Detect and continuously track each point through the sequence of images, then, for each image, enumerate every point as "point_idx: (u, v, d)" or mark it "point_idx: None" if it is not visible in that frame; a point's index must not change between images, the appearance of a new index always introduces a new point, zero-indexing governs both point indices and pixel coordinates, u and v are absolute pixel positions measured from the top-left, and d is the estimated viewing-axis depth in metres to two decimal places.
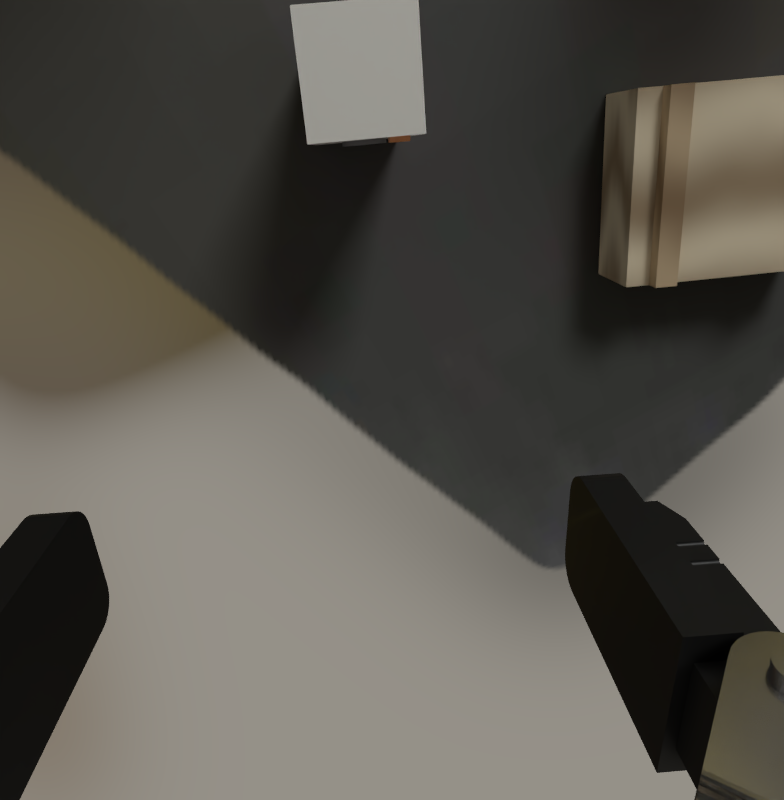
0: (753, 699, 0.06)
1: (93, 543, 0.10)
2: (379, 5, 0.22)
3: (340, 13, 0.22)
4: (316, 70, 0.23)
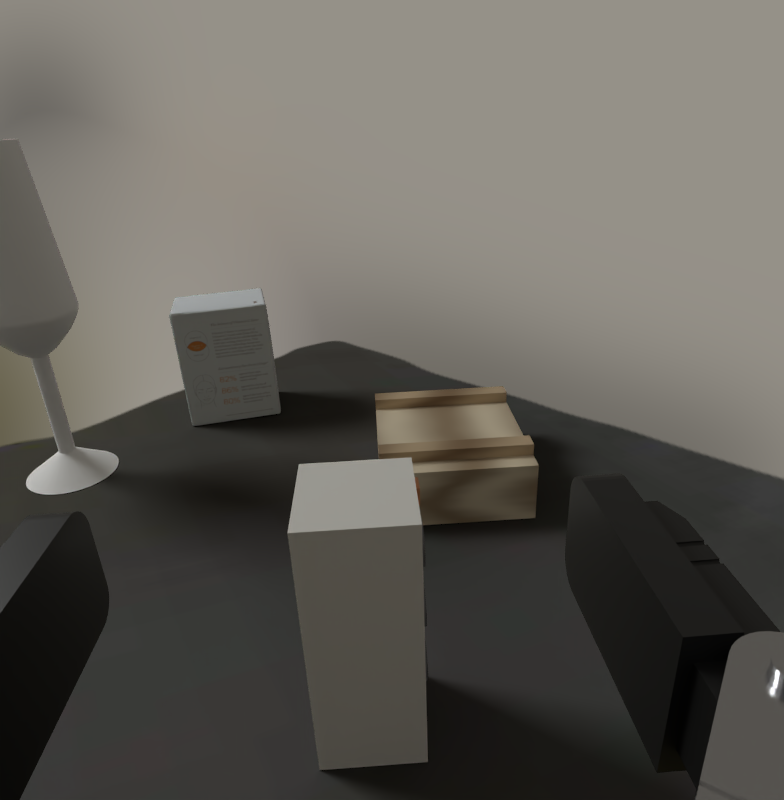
0: (753, 699, 0.06)
1: (93, 543, 0.10)
2: (301, 482, 0.24)
3: (302, 503, 0.22)
4: (349, 517, 0.21)
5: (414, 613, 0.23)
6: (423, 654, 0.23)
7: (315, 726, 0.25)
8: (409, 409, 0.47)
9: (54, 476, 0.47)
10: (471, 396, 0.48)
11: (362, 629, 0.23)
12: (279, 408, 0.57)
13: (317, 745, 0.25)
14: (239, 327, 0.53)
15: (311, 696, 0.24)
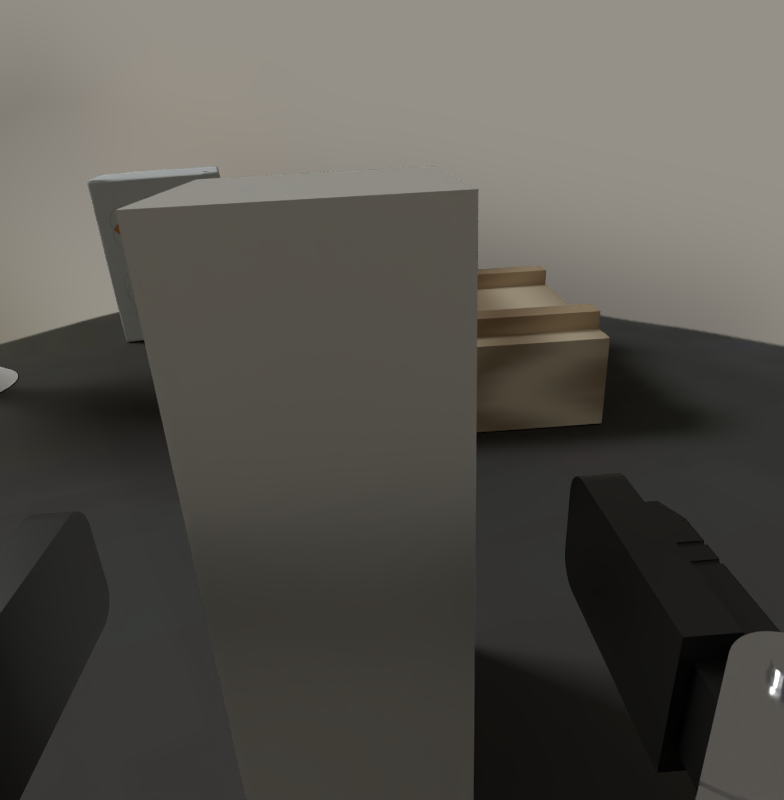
0: (753, 699, 0.06)
1: (93, 543, 0.10)
2: (192, 185, 0.11)
3: (180, 193, 0.09)
4: (288, 195, 0.08)
5: (452, 459, 0.09)
6: (471, 567, 0.10)
7: (235, 736, 0.11)
8: None
9: None
10: (498, 276, 0.35)
11: (329, 501, 0.10)
12: None
13: (243, 776, 0.12)
14: None
15: (221, 669, 0.11)
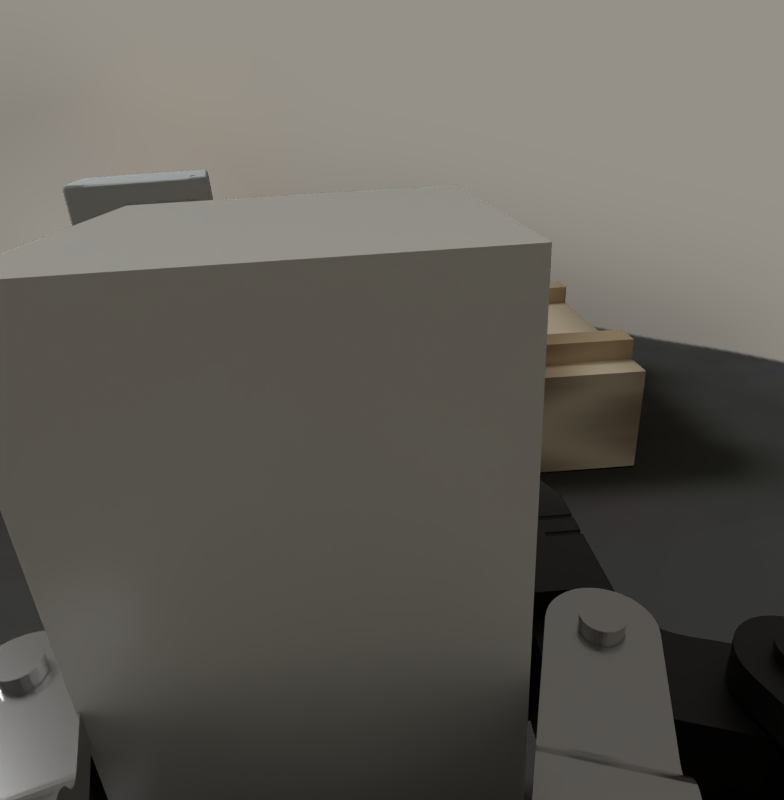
0: (570, 655, 0.06)
1: None
2: (107, 219, 0.07)
3: (70, 238, 0.06)
4: (229, 248, 0.05)
5: (496, 646, 0.06)
6: (518, 781, 0.07)
7: None
8: None
9: None
10: None
11: (306, 705, 0.06)
12: None
13: None
14: None
15: None
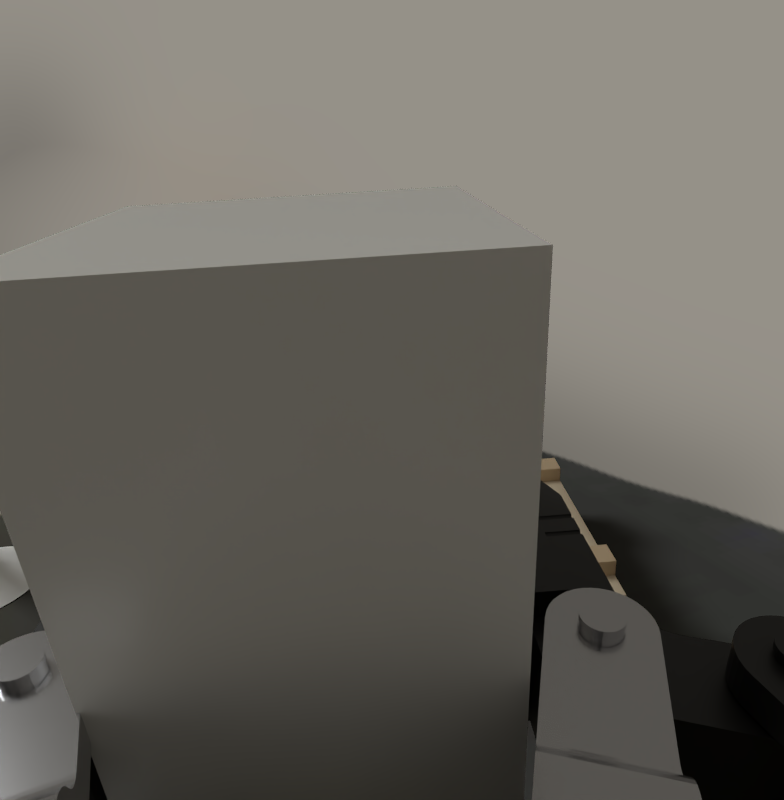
0: (570, 655, 0.06)
1: None
2: (107, 220, 0.07)
3: (71, 240, 0.06)
4: (230, 249, 0.05)
5: (496, 648, 0.06)
6: (518, 783, 0.07)
7: None
8: None
9: None
10: None
11: (306, 707, 0.06)
12: None
13: None
14: None
15: None
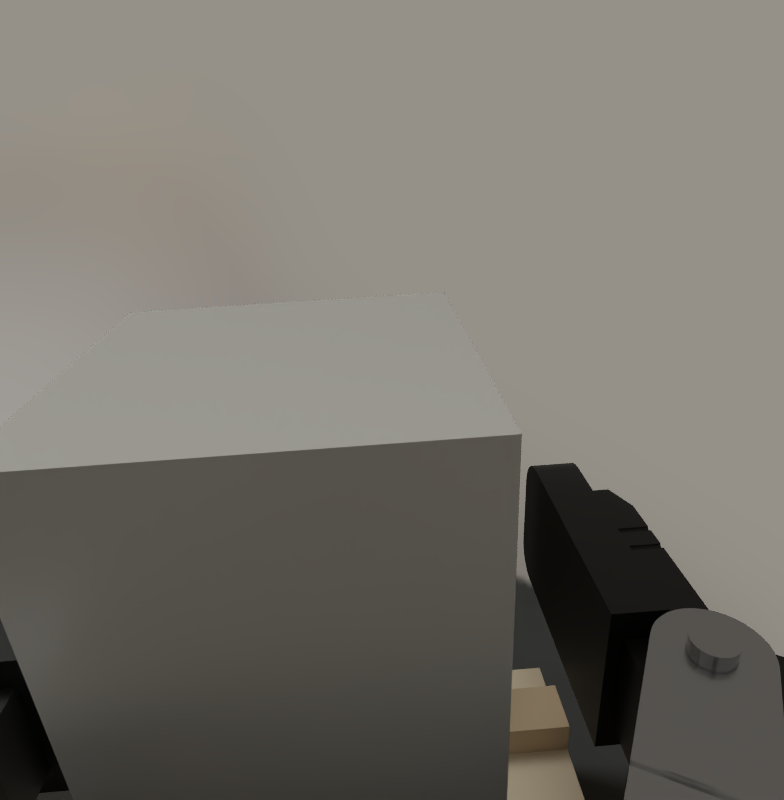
0: (675, 675, 0.06)
1: None
2: (113, 343, 0.08)
3: (80, 385, 0.06)
4: (227, 420, 0.05)
5: (475, 764, 0.07)
6: None
7: None
8: None
9: None
10: None
11: None
12: None
13: None
14: None
15: None
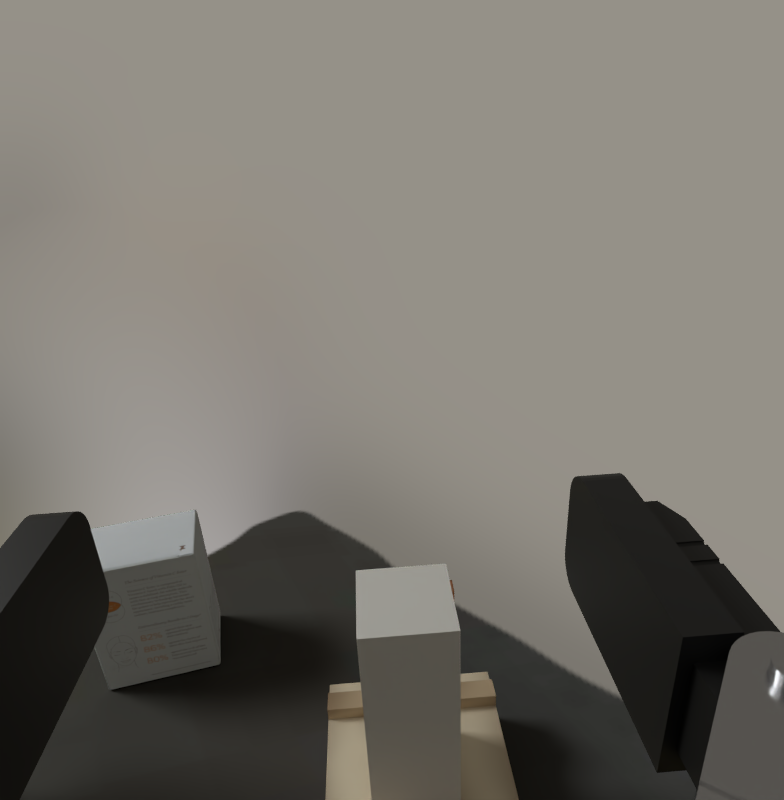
0: (753, 699, 0.06)
1: (93, 543, 0.10)
2: (360, 589, 0.30)
3: (364, 609, 0.28)
4: (403, 624, 0.28)
5: (452, 695, 0.29)
6: (459, 725, 0.29)
7: (371, 782, 0.31)
8: None
9: None
10: None
11: (411, 708, 0.29)
12: (218, 659, 0.46)
13: (372, 797, 0.31)
14: (161, 581, 0.42)
15: (369, 759, 0.30)
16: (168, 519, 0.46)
